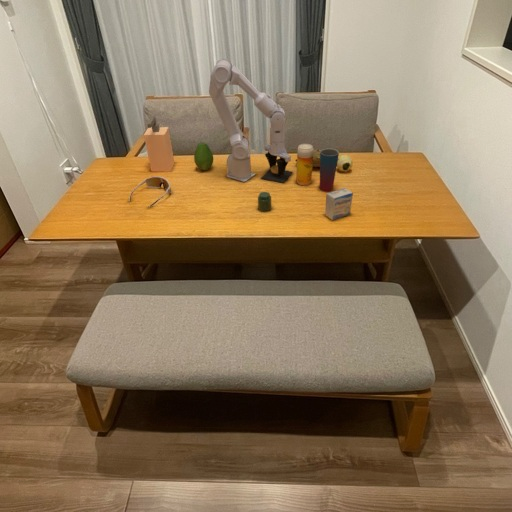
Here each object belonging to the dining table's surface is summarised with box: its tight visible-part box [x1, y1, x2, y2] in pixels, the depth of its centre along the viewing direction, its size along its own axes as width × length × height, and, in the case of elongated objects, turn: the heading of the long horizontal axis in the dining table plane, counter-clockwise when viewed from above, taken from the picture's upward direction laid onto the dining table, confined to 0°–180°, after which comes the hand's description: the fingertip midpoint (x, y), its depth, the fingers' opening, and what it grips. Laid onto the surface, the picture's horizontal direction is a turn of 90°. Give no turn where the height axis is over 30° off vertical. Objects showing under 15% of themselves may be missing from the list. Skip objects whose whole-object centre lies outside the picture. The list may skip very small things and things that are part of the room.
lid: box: [271, 164, 278, 174], centre depth 158 cm, size 5×5×1 cm
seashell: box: [295, 148, 322, 168], centre depth 163 cm, size 11×14×10 cm
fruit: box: [193, 142, 214, 171], centre depth 163 cm, size 8×8×12 cm
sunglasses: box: [128, 175, 172, 208], centre depth 149 cm, size 14×15×5 cm
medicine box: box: [324, 188, 354, 221], centre depth 133 cm, size 8×4×9 cm, turn 118°
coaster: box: [260, 168, 294, 184], centre depth 160 cm, size 10×10×1 cm
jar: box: [257, 191, 272, 213], centre depth 138 cm, size 5×5×6 cm
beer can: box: [295, 143, 315, 186], centre depth 150 cm, size 6×6×15 cm
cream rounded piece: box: [336, 154, 354, 172], centre depth 160 cm, size 6×7×7 cm
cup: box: [319, 147, 340, 193], centre depth 146 cm, size 7×7×15 cm
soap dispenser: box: [143, 115, 175, 173], centre depth 161 cm, size 13×9×22 cm
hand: (277, 172), depth 159 cm, fingers closed on lid, 5 cm apart
